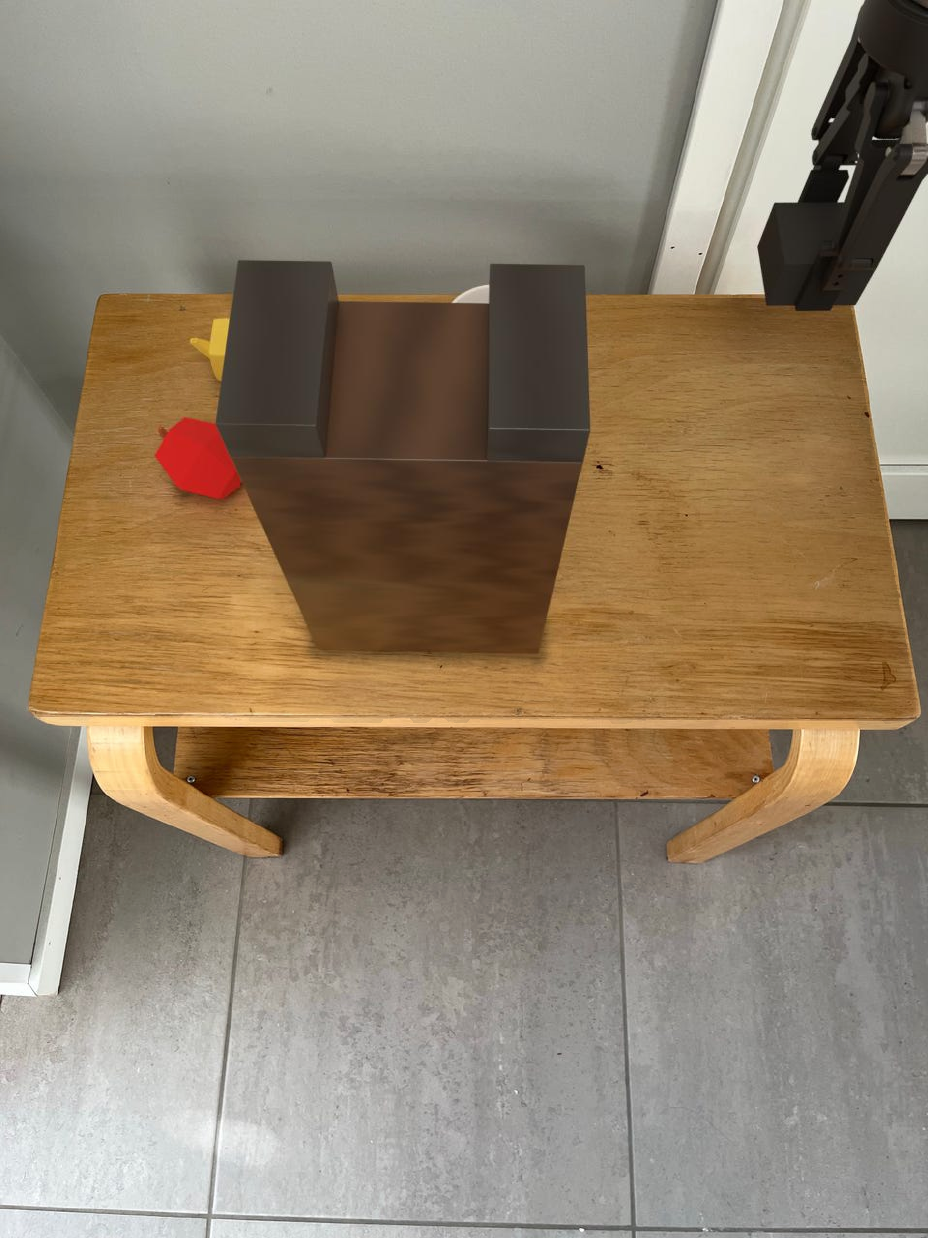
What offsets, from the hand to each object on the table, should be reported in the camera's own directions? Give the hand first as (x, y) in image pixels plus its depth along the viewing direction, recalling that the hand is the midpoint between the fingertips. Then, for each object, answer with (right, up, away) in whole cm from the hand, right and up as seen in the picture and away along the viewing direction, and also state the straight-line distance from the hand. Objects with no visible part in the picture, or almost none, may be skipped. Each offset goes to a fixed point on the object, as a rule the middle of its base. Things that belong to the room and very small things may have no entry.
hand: (806, 272), depth 72 cm
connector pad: (0, 0, 0) cm, 0 cm away
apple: (-49, -15, +8) cm, 52 cm away
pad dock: (-30, -25, +4) cm, 39 cm away
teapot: (-47, -5, +12) cm, 49 cm away
